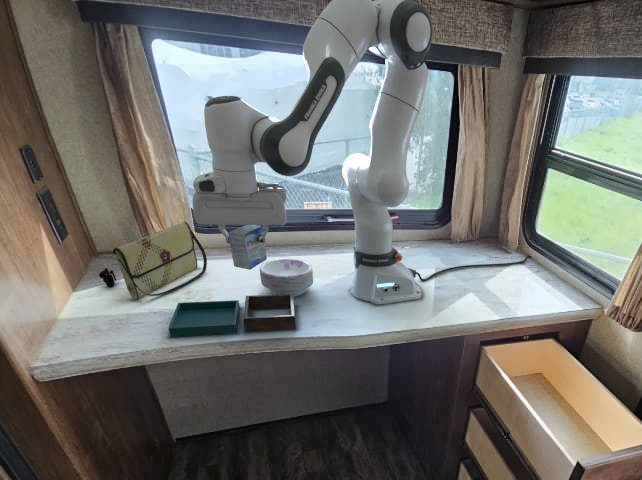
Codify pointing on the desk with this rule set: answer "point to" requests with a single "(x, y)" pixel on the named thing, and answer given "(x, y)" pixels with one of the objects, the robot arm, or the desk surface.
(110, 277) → the wireless earbuds
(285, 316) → the wooden floating shelf
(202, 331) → the tray
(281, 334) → the desk surface
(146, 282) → the clutch purse
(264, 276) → the paper bowls
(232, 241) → the medicine box
